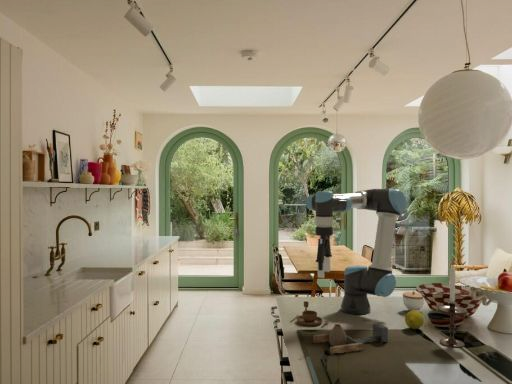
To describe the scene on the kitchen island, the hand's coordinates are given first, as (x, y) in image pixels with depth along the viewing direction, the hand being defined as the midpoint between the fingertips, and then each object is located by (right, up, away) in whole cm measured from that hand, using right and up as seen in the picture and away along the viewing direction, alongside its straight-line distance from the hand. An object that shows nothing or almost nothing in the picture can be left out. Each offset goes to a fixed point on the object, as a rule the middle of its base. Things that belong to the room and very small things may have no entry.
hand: (324, 274), depth 186 cm
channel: (+2, -25, -18) cm, 31 cm away
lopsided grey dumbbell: (+15, -25, -14) cm, 32 cm away
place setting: (-3, -26, +17) cm, 31 cm away
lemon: (+41, -25, +4) cm, 48 cm away
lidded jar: (+52, -25, +35) cm, 68 cm away
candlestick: (+49, -26, -15) cm, 57 cm away
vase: (+2, -25, -18) cm, 31 cm away
